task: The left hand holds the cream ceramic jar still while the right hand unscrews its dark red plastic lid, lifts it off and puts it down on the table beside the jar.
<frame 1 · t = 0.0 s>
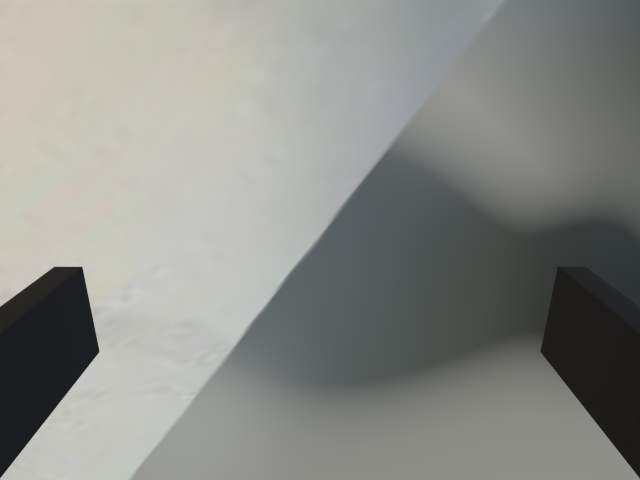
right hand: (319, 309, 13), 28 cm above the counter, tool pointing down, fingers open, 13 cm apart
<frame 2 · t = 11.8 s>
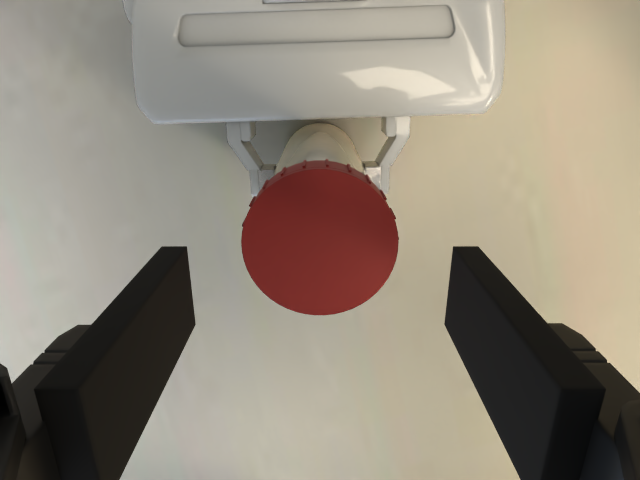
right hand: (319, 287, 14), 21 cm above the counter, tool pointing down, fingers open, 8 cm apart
left hand: (321, 193, 28), fingers closed on jar, 5 cm apart
jar: (319, 160, 34), on the counter, touching left hand
lid: (319, 243, 18), point 17 cm above the counter, screwed on, not yet turned
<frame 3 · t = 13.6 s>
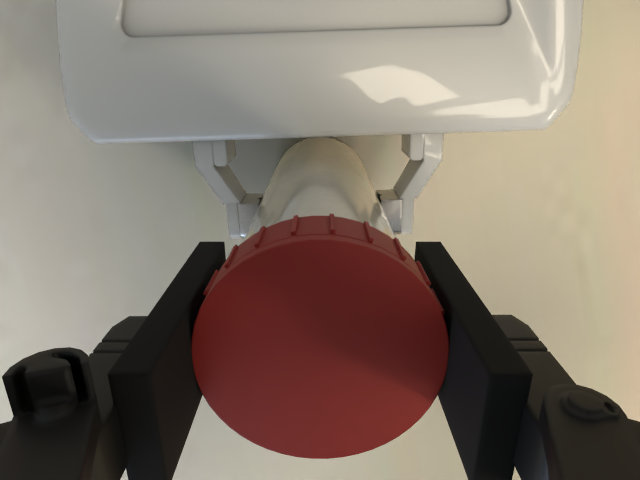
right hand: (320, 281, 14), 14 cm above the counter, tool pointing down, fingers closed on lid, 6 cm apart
left hand: (321, 232, 21), fingers closed on jar, 5 cm apart
jar: (320, 183, 27), on the counter, touching left hand
lid: (320, 351, 11), point 17 cm above the counter, screwed on, not yet turned, touching right hand
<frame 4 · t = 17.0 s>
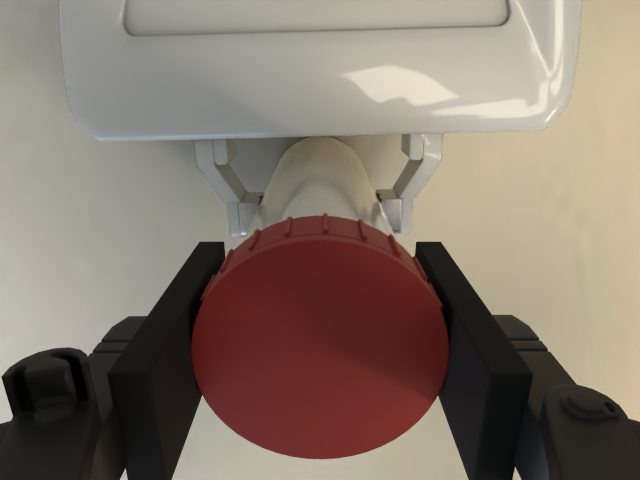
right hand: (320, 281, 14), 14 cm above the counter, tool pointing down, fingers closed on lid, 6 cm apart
left hand: (321, 231, 22), fingers closed on jar, 5 cm apart
jar: (320, 182, 27), on the counter, touching left hand
lid: (320, 352, 11), point 18 cm above the counter, turned 118° so far, risen 0.1 cm, still on its thread, touching right hand
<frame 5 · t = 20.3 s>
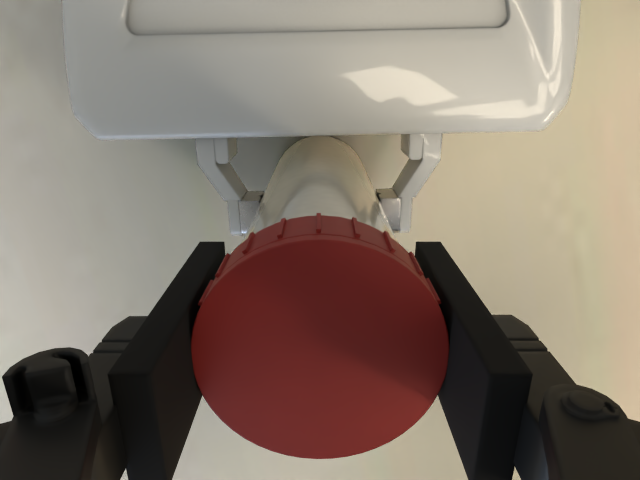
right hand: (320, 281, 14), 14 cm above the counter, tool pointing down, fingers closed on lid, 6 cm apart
left hand: (321, 230, 22), fingers closed on jar, 5 cm apart
jar: (320, 181, 27), on the counter, touching left hand
lid: (319, 352, 11), point 18 cm above the counter, turned 236° so far, risen 0.3 cm, still on its thread, touching right hand
when the right hand's fingers open (0 cm above the counter, at t = 30.5 s): lid stays where it is, point 1 cm above the counter.
when the left hand's fingers open (6 cm above the counter, at t = 31.6 s): jar stays where it is, on the counter.
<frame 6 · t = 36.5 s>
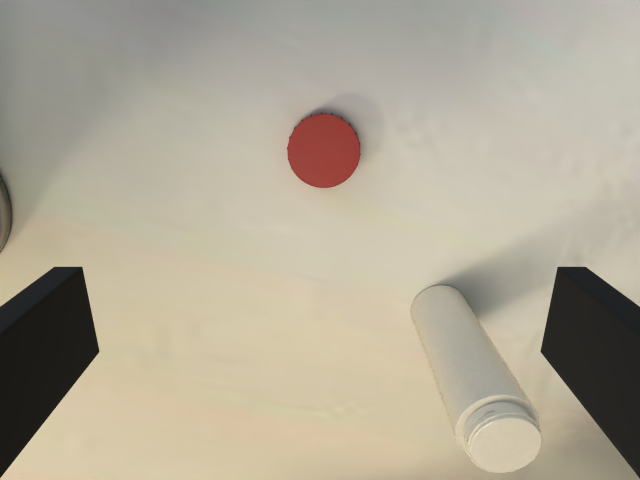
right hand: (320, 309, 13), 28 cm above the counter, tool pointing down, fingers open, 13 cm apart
jar: (438, 310, 45), on the counter
lid: (323, 151, 38), point 1 cm above the counter, off its thread
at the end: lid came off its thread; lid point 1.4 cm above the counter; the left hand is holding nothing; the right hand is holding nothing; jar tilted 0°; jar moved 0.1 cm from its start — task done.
